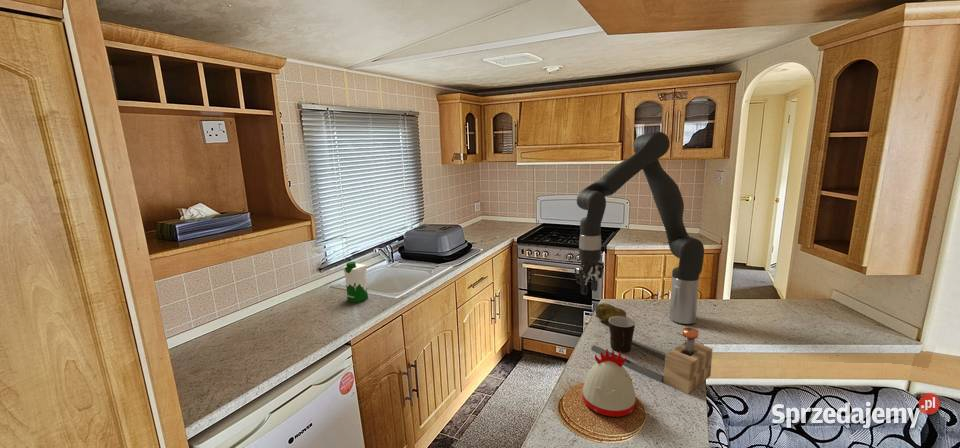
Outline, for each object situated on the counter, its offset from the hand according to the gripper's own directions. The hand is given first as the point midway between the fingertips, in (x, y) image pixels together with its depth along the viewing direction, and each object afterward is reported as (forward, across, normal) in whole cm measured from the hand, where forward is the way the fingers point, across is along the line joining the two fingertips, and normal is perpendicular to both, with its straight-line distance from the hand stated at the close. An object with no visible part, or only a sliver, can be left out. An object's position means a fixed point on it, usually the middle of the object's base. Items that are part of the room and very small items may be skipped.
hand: (589, 292), depth 142 cm
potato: (+18, -17, -2) cm, 25 cm away
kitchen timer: (+18, +26, +27) cm, 41 cm away
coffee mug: (+18, 0, +13) cm, 22 cm away
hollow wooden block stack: (+17, 0, +36) cm, 40 cm away
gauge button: (+8, 0, +36) cm, 37 cm away
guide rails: (+17, 0, +20) cm, 26 cm away
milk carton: (+18, +53, -92) cm, 108 cm away
